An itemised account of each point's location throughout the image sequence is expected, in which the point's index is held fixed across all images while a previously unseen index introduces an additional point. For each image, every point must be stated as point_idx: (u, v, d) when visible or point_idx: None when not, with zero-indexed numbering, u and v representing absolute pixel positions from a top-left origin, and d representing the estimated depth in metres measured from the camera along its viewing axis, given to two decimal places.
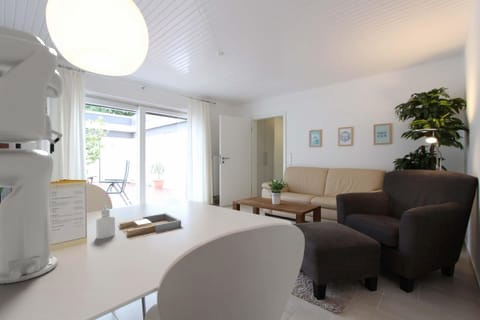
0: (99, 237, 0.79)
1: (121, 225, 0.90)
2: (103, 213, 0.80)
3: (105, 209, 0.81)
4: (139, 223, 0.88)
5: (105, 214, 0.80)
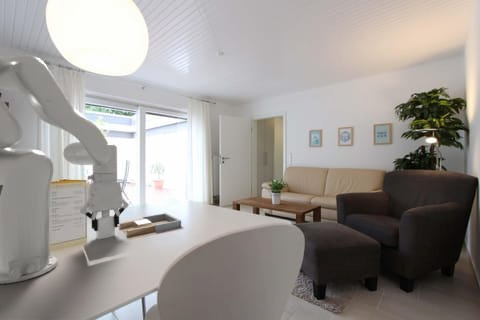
0: (99, 237, 0.79)
1: (121, 225, 0.90)
2: (103, 213, 0.80)
3: None
4: (139, 223, 0.88)
5: (105, 214, 0.80)
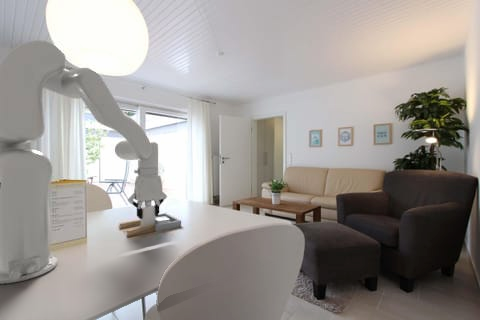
0: (143, 224, 0.89)
1: (121, 225, 0.90)
2: (146, 203, 0.91)
3: None
4: (158, 220, 0.93)
5: (148, 204, 0.91)
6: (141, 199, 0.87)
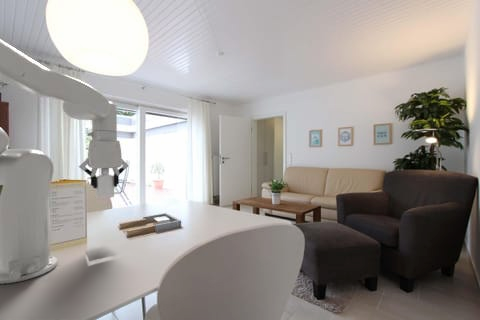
0: (98, 194, 0.79)
1: (121, 225, 0.90)
2: (102, 171, 0.80)
3: None
4: (158, 220, 0.93)
5: (104, 172, 0.80)
6: (94, 165, 0.77)
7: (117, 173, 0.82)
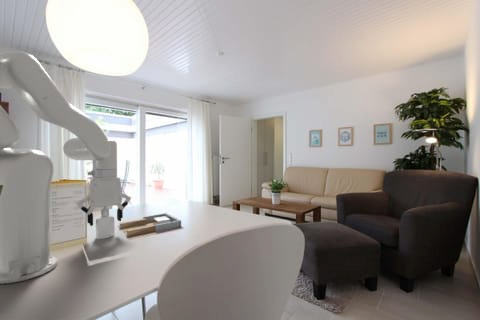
0: (99, 237, 0.79)
1: (121, 225, 0.90)
2: (102, 213, 0.80)
3: (104, 209, 0.81)
4: (158, 220, 0.93)
5: (104, 214, 0.80)
6: (95, 205, 0.77)
7: (121, 207, 0.83)
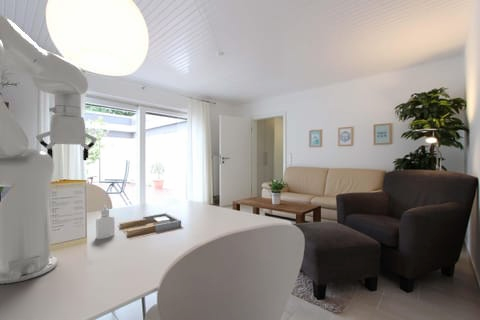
0: (99, 237, 0.79)
1: (121, 225, 0.90)
2: (103, 213, 0.80)
3: (105, 209, 0.81)
4: (158, 220, 0.93)
5: (105, 214, 0.80)
6: (56, 140, 0.77)
7: (86, 147, 0.84)
